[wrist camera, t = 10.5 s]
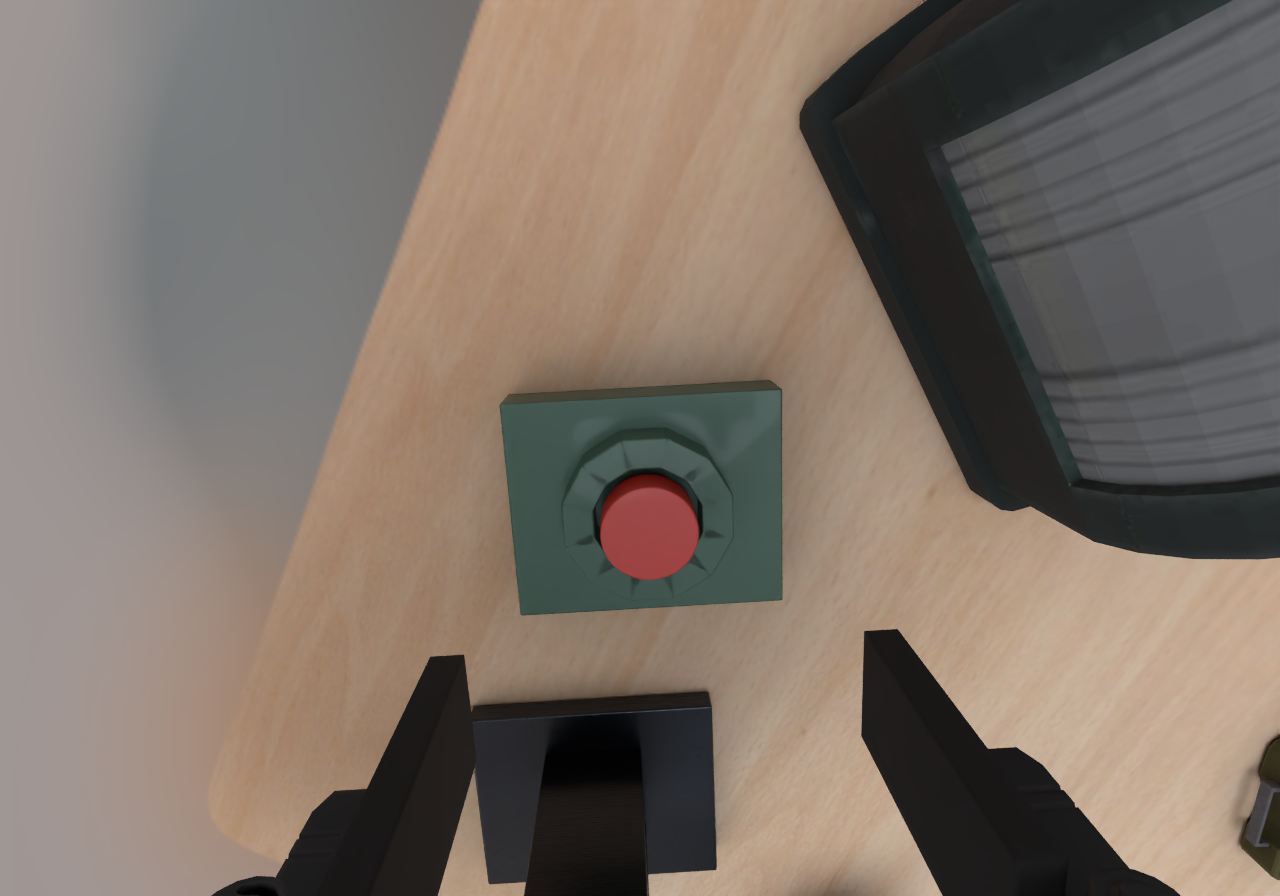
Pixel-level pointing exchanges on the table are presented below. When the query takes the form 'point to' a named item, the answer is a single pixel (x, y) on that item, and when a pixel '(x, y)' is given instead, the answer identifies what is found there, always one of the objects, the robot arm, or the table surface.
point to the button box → (633, 445)
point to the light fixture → (1081, 252)
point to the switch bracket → (596, 792)
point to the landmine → (1266, 816)
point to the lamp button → (649, 527)
